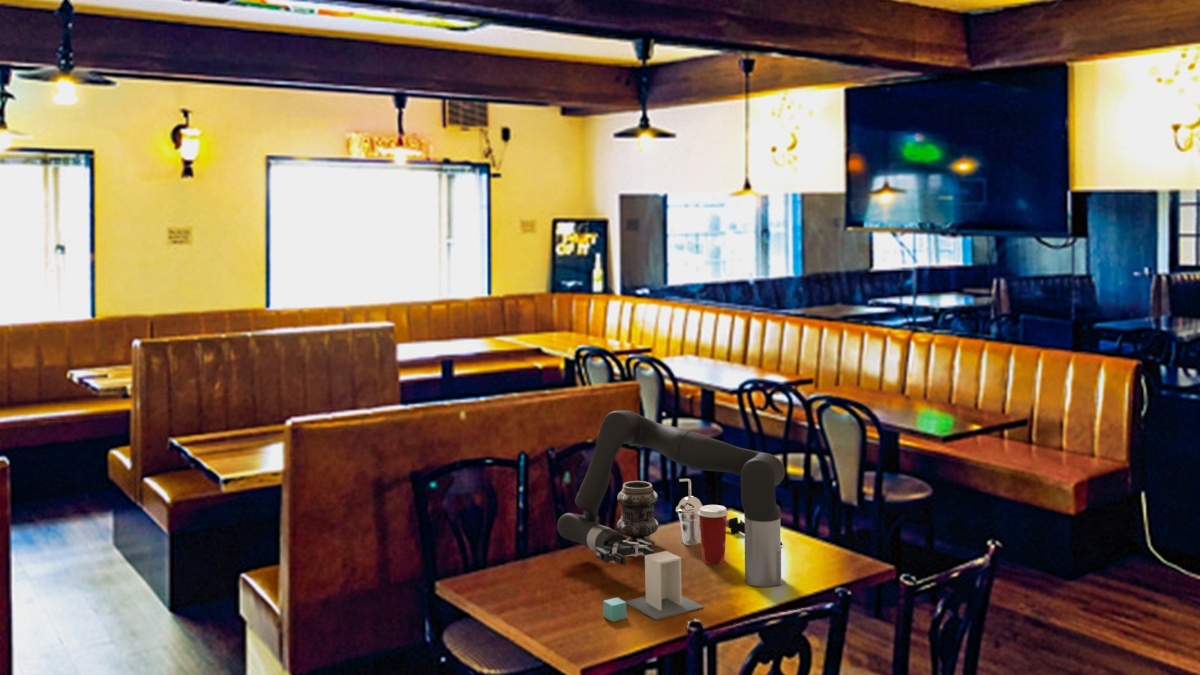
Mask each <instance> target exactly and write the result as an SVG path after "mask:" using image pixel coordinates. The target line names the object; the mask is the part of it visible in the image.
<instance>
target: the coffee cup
mask: <svg viewBox="0 0 1200 675" xmlns="http://www.w3.org/2000/svg"><path fill="white" fill-rule="evenodd" d="M698 514H699V518H700V532H699V533H700V544H701V556H702V557H701V558H702V563H704V562H705V564H706V563H708V564H707V565H721V564H723V563H725V556H726V542H727V541H726V539H727V538H726V537H727V535H726V534H727V527H726V520H727V518H728V515H729V513H728V510H727V507H725V506H724V505H718V504H707V505H702V507H701V508H700V510H699V512H698ZM720 563H721V564H720Z"/></svg>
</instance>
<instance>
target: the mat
mask: <svg viewBox="0 0 1200 675" xmlns="http://www.w3.org/2000/svg"><path fill="white" fill-rule="evenodd" d="M624 601H625V602H626V605H628V606H630V607H632V608H634V609H635V610H637V611H638V612H640V611H641V612H640V613H642V614H643V615H646V616H648V617H649V618H651V619H652V620H654V619H655V621H657V620H662V619H666V618H670V617H673V616H677V615H682V614H686V613H690V612H693V610H694V611H698V610H701V609H700V608H702V609H704V606H703V605H701V604H699V603H697V602H695V601H693V600H692V599H689V598H687V597H686V596H684V595H682V605H678V604H676V603H674V602H673V601H671V600H669V599H667V598H666V599H662V600H661V607H662V610H658V609H656V608H655V607H653V606H651V605H649V604H648V603H646V595H645V596H640V597H636V598H631V599H627V600H624ZM697 609H698V610H697ZM689 611H690V612H689Z"/></svg>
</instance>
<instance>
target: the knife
mask: <svg viewBox="0 0 1200 675" xmlns="http://www.w3.org/2000/svg"><path fill="white" fill-rule="evenodd" d="M738 519H739V518H738V517H737V516H735V517H732V518H728V517H727V520H726V528H728V529H730V534H731V535H736V534H738V533H742V534H743V535H745V521H743V520H742V519H740V521H739V520H738ZM783 545H784V544H783V543H782V540H780V546H783Z"/></svg>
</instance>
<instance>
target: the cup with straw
mask: <svg viewBox="0 0 1200 675" xmlns="http://www.w3.org/2000/svg"><path fill="white" fill-rule="evenodd" d="M677 482H688V496H685V497H682V498H681V500H680V501H679V503H678V505H677V506H676V507H675V512H676V513H678V518H679V522H680V530H681V538H682V544H683V543H684V544H683V545H687V546H695V545H698V544H699V540H700V533H701V532H700V518H699V514H698V512H699V510H700V508H701V507H702V506H703V504H702V502H701V501H700V499H699V498H697V497H695V496H694V495H692V481H691V479H690V478H678V479H677Z"/></svg>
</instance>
